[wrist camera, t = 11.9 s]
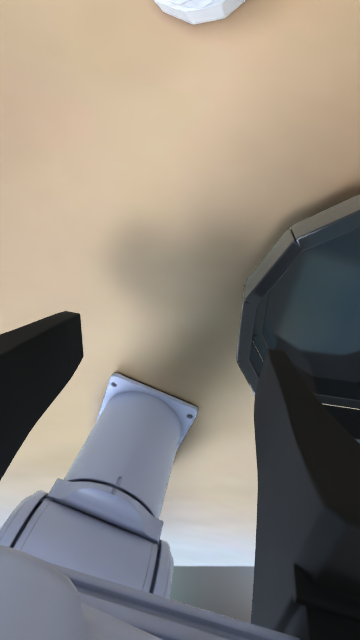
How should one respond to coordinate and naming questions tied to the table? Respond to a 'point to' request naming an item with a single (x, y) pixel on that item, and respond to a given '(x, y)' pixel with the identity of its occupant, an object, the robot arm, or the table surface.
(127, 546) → the robot arm
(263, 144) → the table surface
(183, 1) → the white cup
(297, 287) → the black cooking pot
